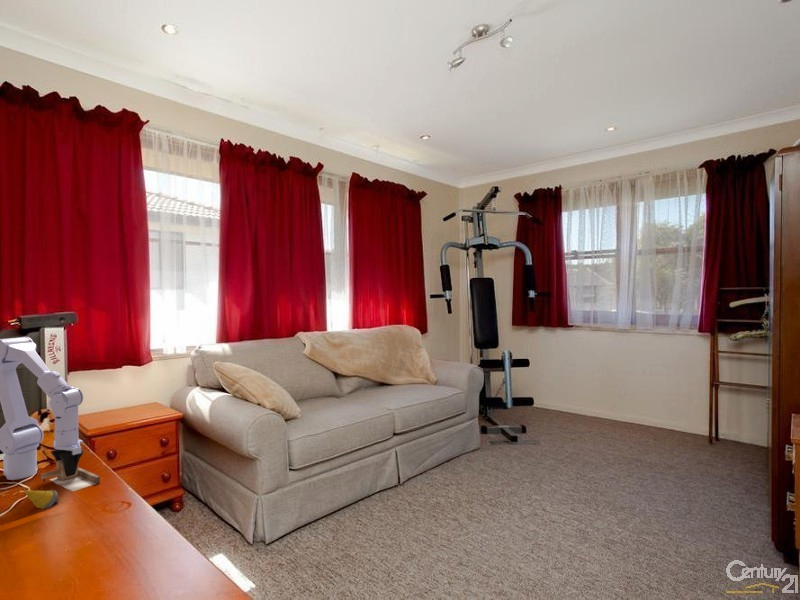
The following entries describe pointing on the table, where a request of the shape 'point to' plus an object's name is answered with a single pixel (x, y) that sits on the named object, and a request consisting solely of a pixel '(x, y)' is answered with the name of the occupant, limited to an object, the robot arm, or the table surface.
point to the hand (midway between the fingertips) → (67, 473)
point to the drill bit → (42, 498)
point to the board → (78, 480)
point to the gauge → (58, 472)
